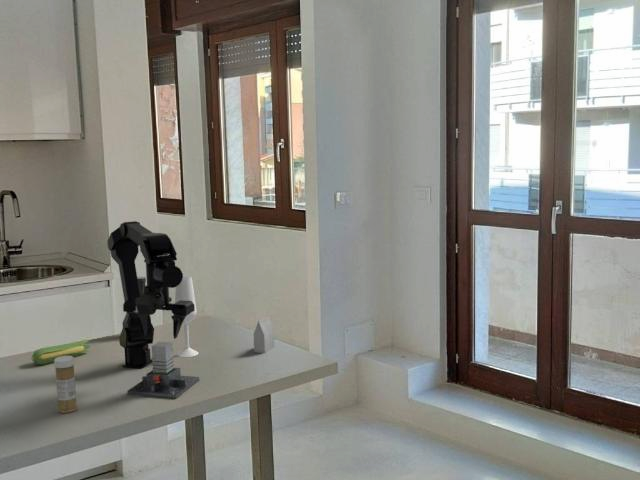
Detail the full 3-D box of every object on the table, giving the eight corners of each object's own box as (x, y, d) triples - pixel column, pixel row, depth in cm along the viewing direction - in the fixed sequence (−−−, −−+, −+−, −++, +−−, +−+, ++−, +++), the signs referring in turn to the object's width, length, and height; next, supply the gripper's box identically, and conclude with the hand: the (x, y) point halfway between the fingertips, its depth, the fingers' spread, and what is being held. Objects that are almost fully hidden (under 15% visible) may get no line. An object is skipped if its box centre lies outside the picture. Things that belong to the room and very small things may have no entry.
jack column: (152, 374, 189) (151, 346, 188) (160, 369, 193) (158, 341, 192) (167, 375, 188) (165, 346, 187) (174, 370, 192) (172, 342, 191)
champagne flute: (194, 357, 217) (190, 280, 213) (173, 356, 218) (169, 279, 214) (201, 350, 223) (198, 275, 220) (181, 350, 224) (177, 275, 221)
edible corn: (27, 351, 213) (33, 349, 210) (88, 338, 227) (95, 336, 224) (30, 368, 212) (36, 366, 209) (91, 354, 227) (98, 353, 224)
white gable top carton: (274, 347, 226) (273, 316, 224) (264, 353, 220) (263, 321, 218) (264, 346, 227) (263, 315, 226) (254, 352, 221) (253, 320, 220)
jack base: (127, 394, 186) (126, 377, 186) (153, 376, 200) (152, 361, 199) (176, 398, 183) (175, 381, 182) (199, 380, 196) (198, 364, 195)
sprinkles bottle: (71, 405, 179) (68, 353, 177) (81, 409, 176) (77, 357, 174) (54, 410, 176) (50, 358, 174) (63, 415, 173) (59, 361, 171)
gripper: (110, 285, 186) (113, 343, 189) (175, 289, 181) (177, 348, 184) (132, 276, 197) (135, 331, 199) (194, 280, 192) (196, 336, 194)
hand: (160, 337), depth 194 cm, fingers open, 9 cm apart
